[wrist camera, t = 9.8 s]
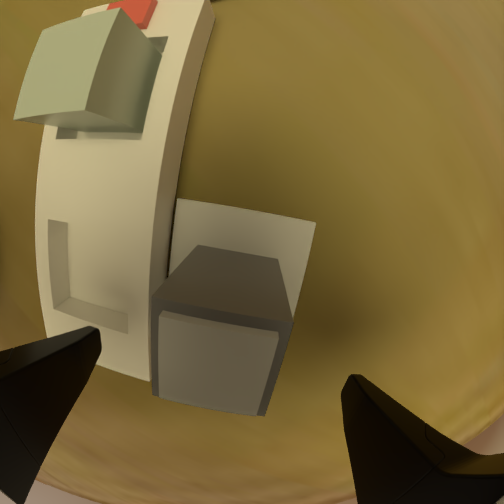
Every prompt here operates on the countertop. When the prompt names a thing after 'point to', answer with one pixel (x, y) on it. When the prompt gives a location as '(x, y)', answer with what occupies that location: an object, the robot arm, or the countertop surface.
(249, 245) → the rubber pad
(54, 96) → the lamp plug
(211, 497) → the countertop surface
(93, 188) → the power strip
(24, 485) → the robot arm
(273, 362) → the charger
